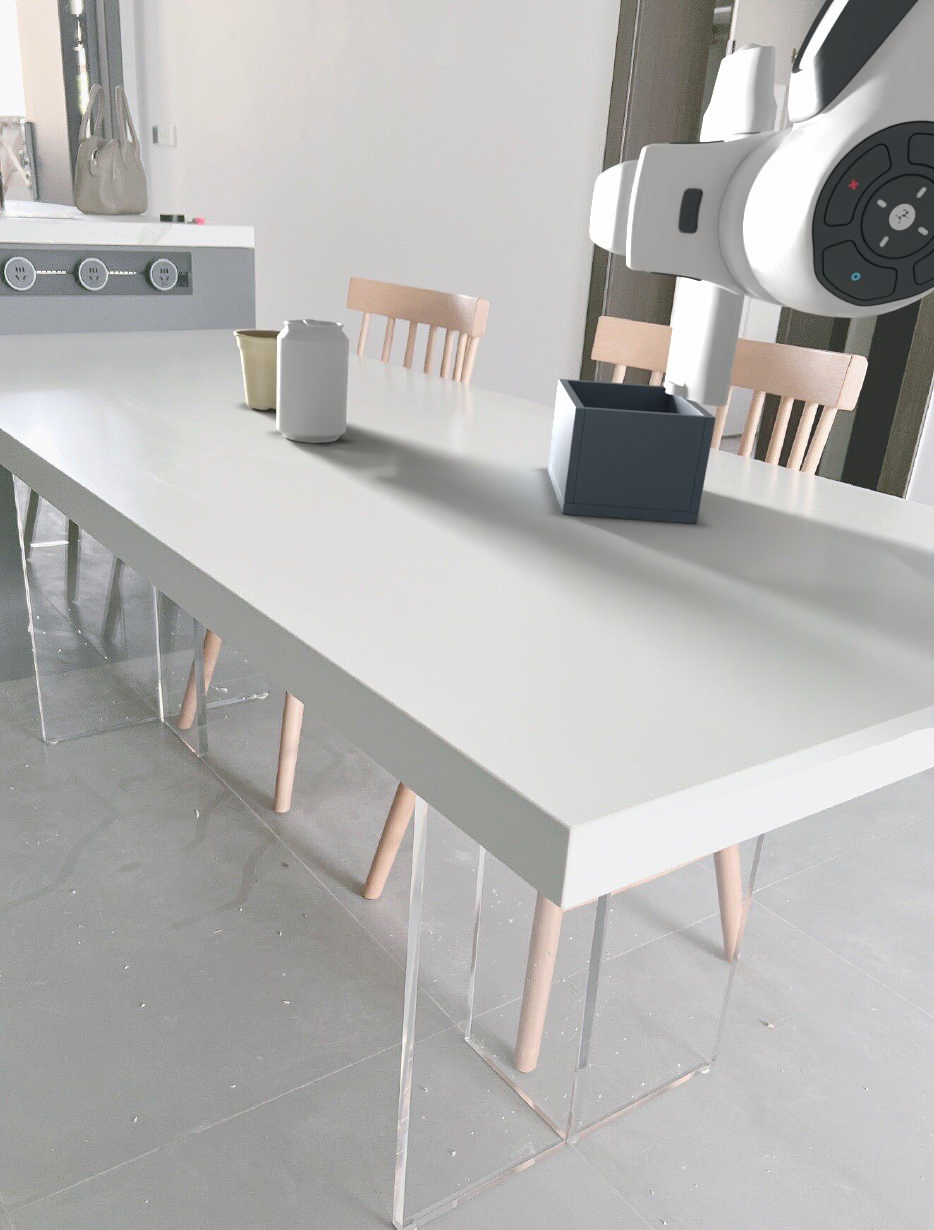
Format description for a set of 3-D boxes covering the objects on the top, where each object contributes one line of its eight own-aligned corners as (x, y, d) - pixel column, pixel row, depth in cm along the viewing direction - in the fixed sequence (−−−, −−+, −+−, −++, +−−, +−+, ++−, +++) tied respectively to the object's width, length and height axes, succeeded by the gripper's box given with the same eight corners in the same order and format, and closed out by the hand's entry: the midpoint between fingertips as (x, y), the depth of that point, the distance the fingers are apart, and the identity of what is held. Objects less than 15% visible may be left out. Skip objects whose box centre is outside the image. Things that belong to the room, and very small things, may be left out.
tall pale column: (644, 383, 82) (690, 52, 73) (695, 385, 83) (747, 56, 73) (692, 406, 72) (751, 28, 63) (749, 408, 73) (816, 33, 64)
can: (289, 445, 111) (291, 324, 106) (267, 431, 117) (268, 316, 112) (355, 443, 114) (360, 325, 109) (331, 429, 120) (334, 317, 115)
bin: (662, 478, 107) (677, 386, 104) (696, 524, 91) (715, 417, 88) (547, 470, 108) (558, 378, 104) (562, 514, 92) (575, 407, 88)
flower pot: (321, 406, 134) (323, 334, 131) (295, 417, 126) (296, 340, 122) (251, 398, 136) (252, 327, 133) (221, 408, 128) (221, 333, 124)
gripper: (1001, 165, 56) (902, 175, 69) (617, 141, 57) (588, 155, 69) (967, 291, 59) (878, 279, 72) (601, 268, 60) (576, 259, 72)
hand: (733, 218), depth 71 cm, fingers closed on tall pale column, 2 cm apart
